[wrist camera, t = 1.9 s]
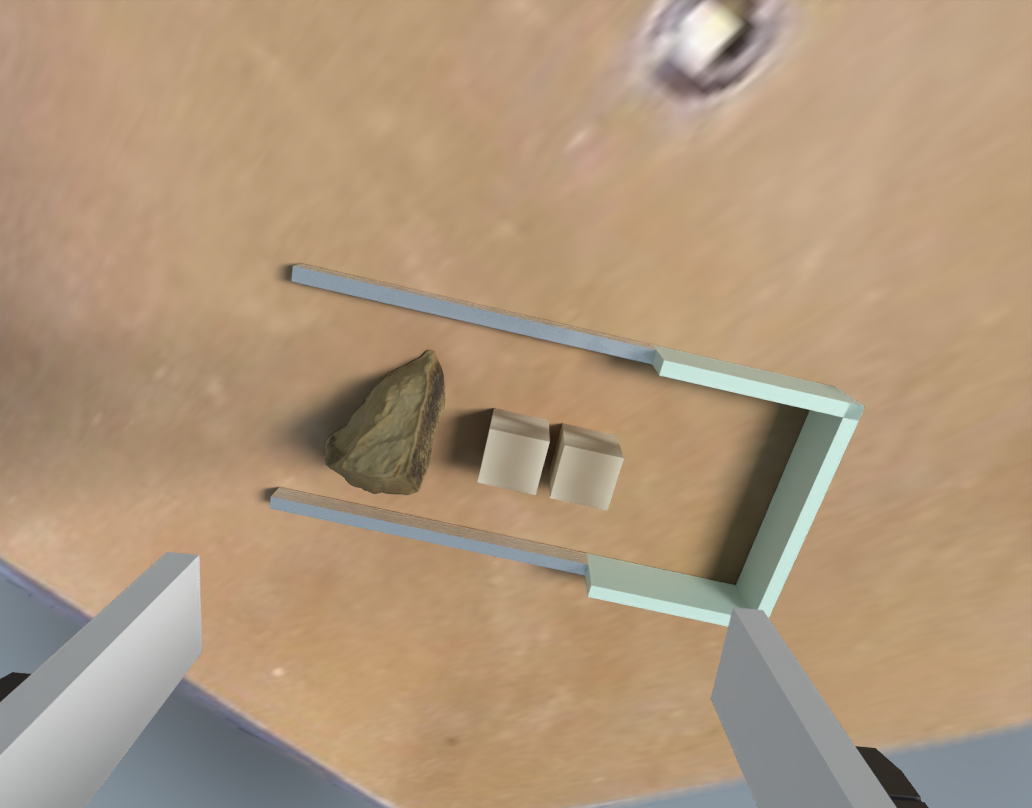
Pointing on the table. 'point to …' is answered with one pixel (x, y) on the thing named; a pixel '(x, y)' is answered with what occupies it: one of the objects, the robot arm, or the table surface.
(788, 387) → the tray pen
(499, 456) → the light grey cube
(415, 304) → the slot rails
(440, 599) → the table surface
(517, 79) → the table surface
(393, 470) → the rock
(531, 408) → the table surface
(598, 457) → the beige cube
